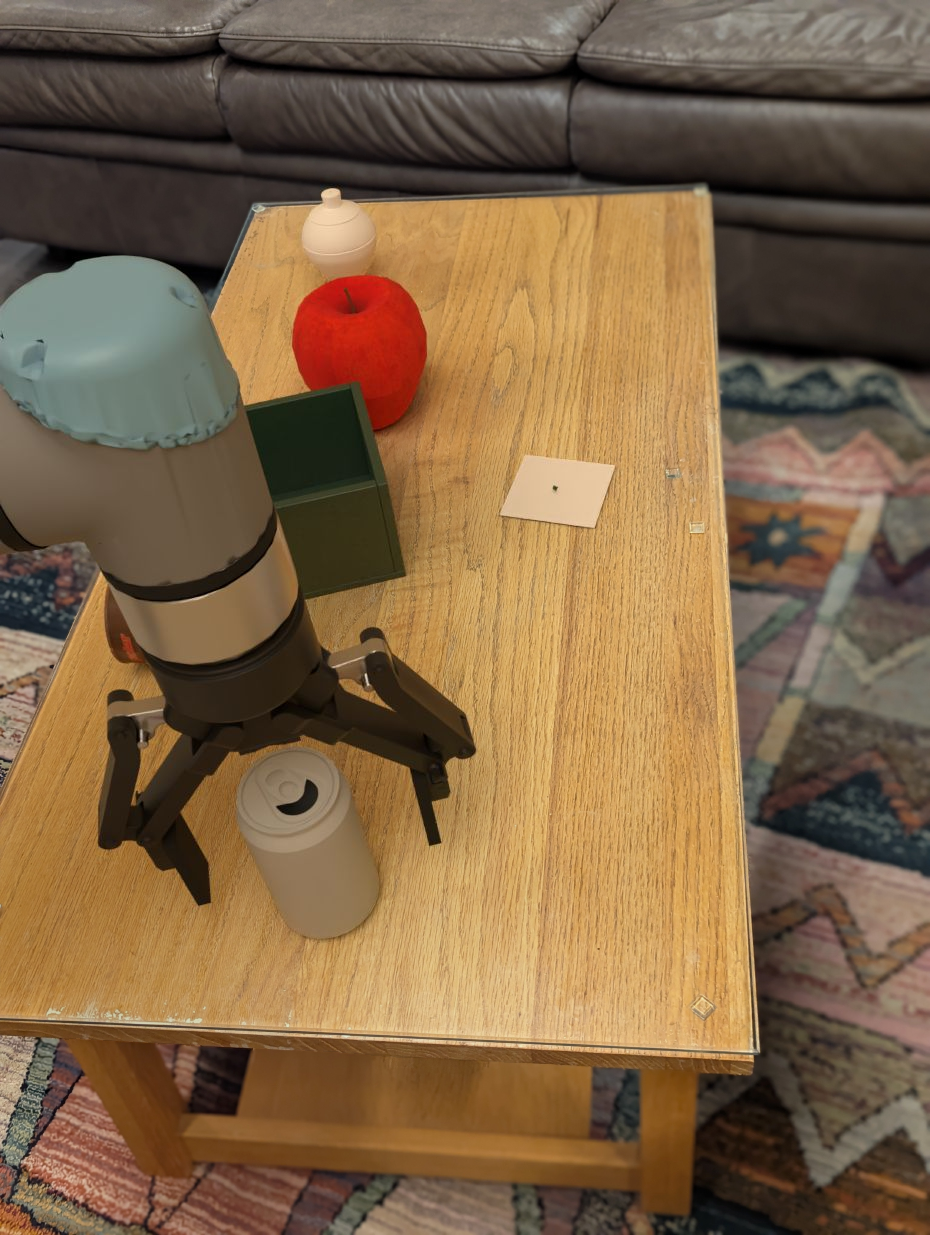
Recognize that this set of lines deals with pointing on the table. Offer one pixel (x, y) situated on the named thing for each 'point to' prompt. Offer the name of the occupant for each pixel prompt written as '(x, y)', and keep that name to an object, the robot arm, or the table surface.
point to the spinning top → (339, 237)
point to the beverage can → (308, 841)
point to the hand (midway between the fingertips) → (318, 855)
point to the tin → (120, 633)
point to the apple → (362, 342)
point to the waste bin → (328, 488)
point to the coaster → (558, 491)
